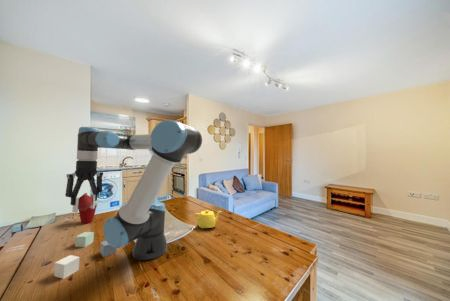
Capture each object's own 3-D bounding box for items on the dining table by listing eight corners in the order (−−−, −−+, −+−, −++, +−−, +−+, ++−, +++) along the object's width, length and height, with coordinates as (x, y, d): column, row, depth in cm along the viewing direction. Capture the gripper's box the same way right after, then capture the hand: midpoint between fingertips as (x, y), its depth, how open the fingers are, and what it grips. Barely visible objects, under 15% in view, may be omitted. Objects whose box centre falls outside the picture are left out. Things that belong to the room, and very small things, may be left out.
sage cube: (93, 242, 86) (93, 232, 86) (85, 247, 81) (85, 236, 81) (83, 241, 86) (84, 232, 86) (75, 246, 81) (75, 236, 81)
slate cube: (116, 252, 77) (116, 241, 77) (103, 257, 73) (103, 246, 73) (112, 248, 80) (113, 238, 80) (100, 253, 76) (100, 242, 77)
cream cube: (78, 270, 65) (79, 257, 65) (63, 279, 60) (64, 265, 60) (69, 267, 66) (70, 254, 66) (53, 276, 61) (54, 262, 61)
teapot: (220, 223, 115) (221, 207, 115) (221, 230, 104) (222, 213, 104) (194, 223, 113) (195, 207, 114) (193, 230, 102) (193, 213, 103)
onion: (82, 213, 73) (83, 195, 73) (72, 212, 74) (73, 194, 74) (95, 209, 78) (96, 192, 79) (85, 208, 80) (86, 191, 80)
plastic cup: (86, 219, 115) (87, 201, 116) (100, 220, 114) (102, 202, 115) (70, 225, 105) (72, 206, 105) (86, 226, 103) (87, 207, 104)
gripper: (104, 159, 87) (101, 203, 86) (56, 159, 70) (52, 214, 69) (112, 160, 84) (110, 205, 83) (64, 160, 67) (60, 218, 66)
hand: (83, 209), depth 76 cm, fingers closed on onion, 6 cm apart
